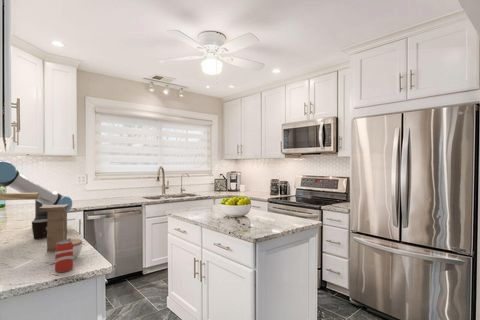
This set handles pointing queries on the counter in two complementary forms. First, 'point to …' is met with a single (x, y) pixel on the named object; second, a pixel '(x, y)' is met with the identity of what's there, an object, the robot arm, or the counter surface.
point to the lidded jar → (76, 246)
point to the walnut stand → (55, 224)
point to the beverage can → (64, 256)
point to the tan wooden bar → (19, 196)
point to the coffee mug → (39, 228)
